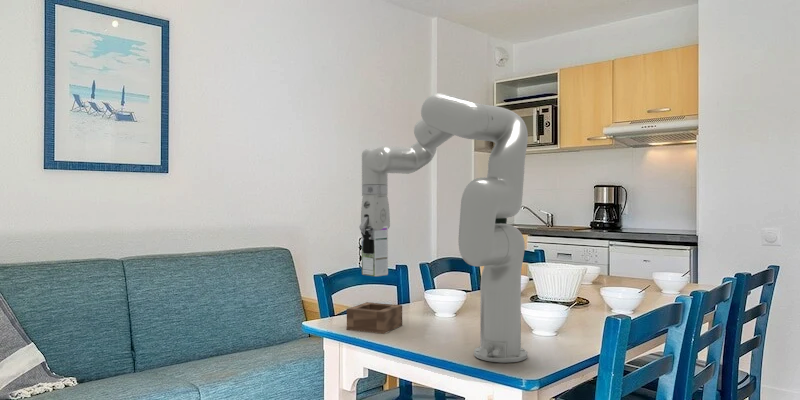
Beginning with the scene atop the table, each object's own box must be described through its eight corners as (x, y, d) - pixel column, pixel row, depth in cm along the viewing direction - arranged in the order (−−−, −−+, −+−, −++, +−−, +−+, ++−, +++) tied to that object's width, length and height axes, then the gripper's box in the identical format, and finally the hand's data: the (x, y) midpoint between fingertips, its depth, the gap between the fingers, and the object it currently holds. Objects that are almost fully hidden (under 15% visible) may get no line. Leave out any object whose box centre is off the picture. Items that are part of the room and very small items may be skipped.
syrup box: (388, 275, 174) (388, 225, 174) (374, 276, 170) (374, 226, 170) (375, 273, 178) (375, 224, 178) (360, 275, 174) (360, 225, 174)
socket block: (383, 333, 166) (383, 312, 166) (346, 329, 171) (346, 308, 171) (402, 325, 177) (402, 305, 177) (366, 321, 182) (366, 302, 182)
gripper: (371, 191, 164) (371, 255, 164) (399, 191, 180) (399, 250, 180) (348, 191, 168) (348, 254, 168) (377, 191, 183) (377, 249, 183)
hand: (374, 251), depth 174 cm, fingers closed on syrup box, 7 cm apart
